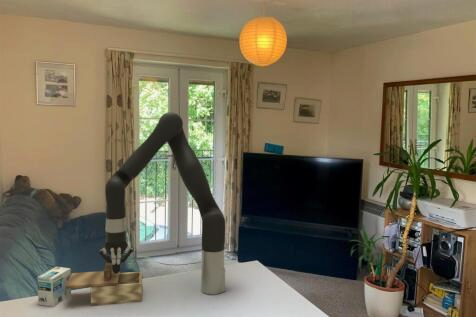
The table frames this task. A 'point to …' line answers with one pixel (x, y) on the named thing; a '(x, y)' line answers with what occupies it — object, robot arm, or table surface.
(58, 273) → the light bulb box
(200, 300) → the table surface
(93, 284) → the lid
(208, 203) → the robot arm
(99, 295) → the wooden box
